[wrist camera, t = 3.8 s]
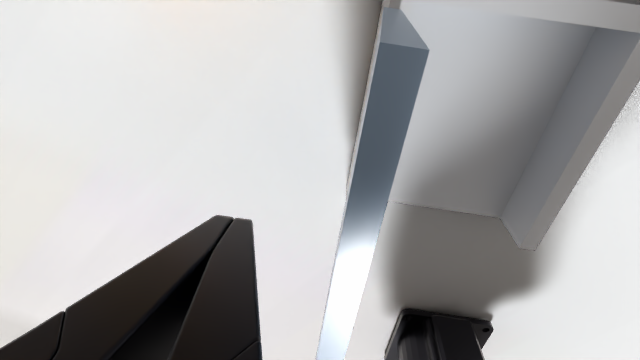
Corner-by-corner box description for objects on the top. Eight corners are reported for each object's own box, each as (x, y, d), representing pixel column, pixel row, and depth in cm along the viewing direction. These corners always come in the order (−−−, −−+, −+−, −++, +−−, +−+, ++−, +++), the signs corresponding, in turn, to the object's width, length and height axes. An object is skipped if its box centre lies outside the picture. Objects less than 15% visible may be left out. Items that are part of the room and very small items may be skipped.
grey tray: (527, 217, 19) (554, 253, 17) (329, 187, 19) (325, 219, 17) (811, -291, 10) (979, -392, 7) (414, -343, 10) (436, -461, 7)
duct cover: (326, 422, 9) (304, 417, 9) (354, 222, 16) (341, 220, 16) (429, 50, 4) (379, 42, 4) (401, 9, 11) (383, 6, 12)
